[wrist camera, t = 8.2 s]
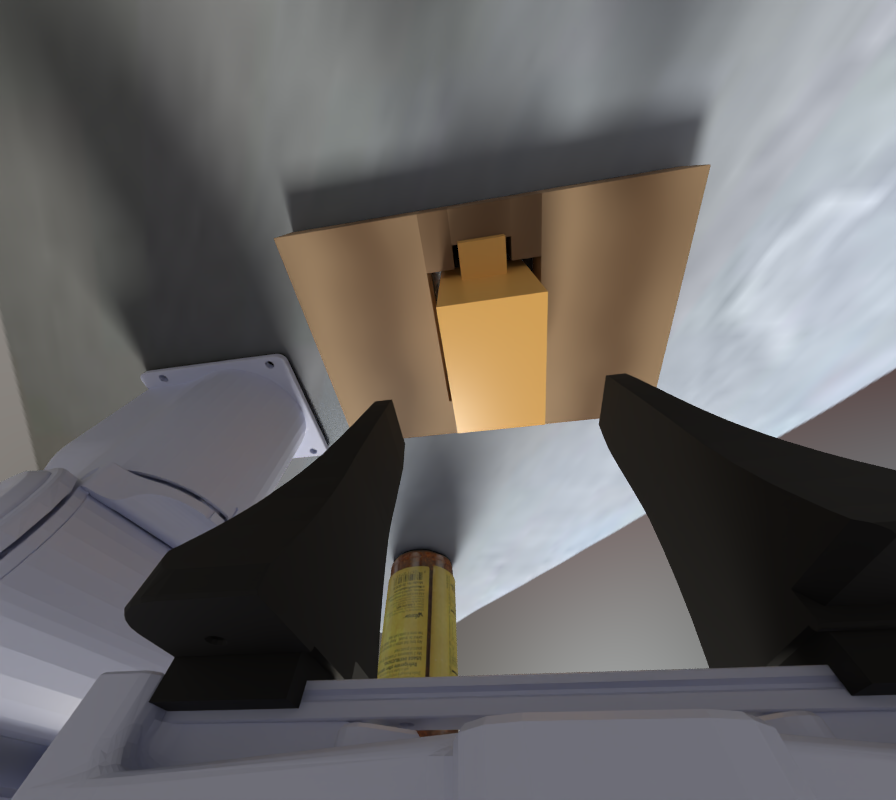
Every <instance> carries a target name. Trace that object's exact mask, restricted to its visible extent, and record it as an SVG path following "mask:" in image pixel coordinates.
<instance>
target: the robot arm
mask: <svg viewBox="0 0 896 800" xmlns="http://www.w3.org/2000/svg"><path fill="white" fill-rule="evenodd" d="M268 361H271V362H272V363H273V364H274V366H273V365H271V364H270V363H269V362H268ZM165 376H166V377H167V378H166V377H165ZM141 380H142V381H143V383H144V384H145V385H146V387H147V388H148V390H147V391H145V392H144V393H142V394H141V395H139V396H138V397H136V398H135V399H133V400H132V401H131V402H129V403H128V404H126V405H125V406H123V407H122V408H120V409H119V410H117V411H116V412H114V413H113V414H111V415H110V416H108V417H107V418H105V419H104V420H103V421H101V422H100V423H98V424H97V425H95V426H94V427H92V428H91V429H89V430H88V431H86V432H85V433H83V434H82V435H80V436H79V437H77V438H76V439H75V440H73V441H72V442H70V443H69V444H67V445H66V446H64V447H63V448H62V449H61V450H60V451H58V452H57V453H56V454H55V455H54V456H53V458H52V459H51V460H50V461H49V463H48V464H47V466H46V467H45V469H44V470H37V471H25V472H22V473H19V474H16V475H14V476H12V477H10V478H8V479H6V480H4V481H2V482H0V800H896V470H892V469H888V468H884V467H880V466H876V465H871V464H867V463H863V462H859V461H854V460H851V459H847V458H843V457H839V456H836V455H832V454H828V453H824V452H821V451H817V450H814V449H811V448H807V447H804V446H800V445H797V444H794V443H791V442H787V441H784V440H781V439H778V438H775V437H772V436H769V435H766V434H763V433H760V432H758V431H755V430H752V429H749V428H746V427H744V426H741V425H738V424H736V423H733V422H731V421H728V420H726V419H723V418H721V417H718V416H716V415H714V414H711V413H709V412H707V411H704V410H702V409H700V408H698V407H696V406H693V405H691V404H689V403H687V402H685V401H683V400H681V399H678V398H676V397H674V396H672V395H670V394H668V393H666V392H664V391H662V390H660V389H658V388H656V387H654V386H652V385H650V384H648V383H646V382H644V381H642V380H640V379H638V378H636V377H633V376H631V375H629V374H626V373H623V374H614V375H606V378H605V385H604V392H603V399H602V406H601V413H600V420H599V426H600V429H601V431H602V434H603V436H604V439H605V441H606V444H607V446H608V448H609V450H610V452H611V454H612V456H613V457H614V459H615V461H616V463H617V464H618V466H619V468H620V469H621V471H622V473H623V474H624V476H625V478H626V479H627V481H628V483H629V484H630V486H631V488H632V489H633V491H634V493H635V494H636V496H637V498H638V499H639V501H640V503H641V505H642V506H643V508H644V510H645V512H646V514H647V516H648V517H649V519H650V521H651V524H652V526H653V528H654V530H655V532H656V534H657V537H658V539H659V541H660V543H661V545H662V548H663V550H664V552H665V555H666V557H667V559H668V562H669V564H670V566H671V569H672V571H673V573H674V576H675V578H676V580H677V583H678V585H679V588H680V590H681V593H682V595H683V598H684V601H685V603H686V606H687V608H688V611H689V613H690V616H691V618H692V621H693V624H694V626H695V629H696V632H697V635H698V637H699V640H700V643H701V646H702V648H703V651H704V654H705V657H706V659H707V662H708V665H709V668H706V669H675V670H674V669H673V670H641V671H608V672H577V673H543V674H511V675H478V676H446V677H413V678H381V679H377V675H378V655H379V635H380V622H381V608H382V595H383V584H384V574H385V563H386V555H387V546H388V537H389V532H390V526H391V521H392V517H393V512H394V508H395V503H396V499H397V494H398V490H399V485H400V480H401V476H402V471H403V462H404V449H405V442H404V439H403V435H402V432H401V429H400V425H399V422H398V418H397V415H396V411H395V408H394V404H393V401H392V400H383V401H375V402H374V403H373V404H372V405H371V406H370V407H369V408H368V409H367V410H366V411H365V412H364V413H363V414H362V415H361V416H360V417H359V419H358V420H357V421H356V422H355V423H354V424H353V425H352V426H351V427H350V428H349V429H348V430H347V431H346V432H345V433H344V434H343V435H342V436H341V437H340V438H339V439H338V440H337V441H336V442H335V443H334V444H333V445H332V446H331V447H329V448H328V445H327V443H326V441H325V438H324V436H323V434H322V432H321V430H320V428H319V426H318V423H317V421H316V419H315V417H314V415H313V413H312V411H311V409H310V406H309V404H308V402H307V400H306V398H305V396H304V394H303V391H302V389H301V387H300V385H299V383H298V381H297V379H296V376H295V374H294V372H293V370H292V368H291V366H290V364H289V361H288V360H287V358H286V357H285V356H284V355H281V354H271V355H263V356H256V357H248V358H241V359H233V360H225V361H218V362H210V363H203V364H195V365H188V366H180V367H173V368H165V369H158V370H150V371H146V372H144V373H143V374H142V375H141ZM312 448H313V449H312ZM314 449H316V450H314ZM319 455H321V456H320V457H319V458H318V459H316V460H315V461H314V462H313V463H312V464H310V465H309V466H308V467H307V468H305V469H304V470H303V471H302V472H300V473H299V474H298V475H297V476H295V477H294V478H293V479H291V480H290V481H288V482H287V483H286V484H284V485H283V486H281V487H280V488H278V489H277V490H275V491H274V489H275V487H276V486H277V484H278V482H279V480H280V479H281V477H282V475H283V474H284V472H285V470H286V468H287V467H288V465H289V463H290V462H291V460H292V458H299V457H309V456H319ZM273 491H274V492H273ZM415 730H460V731H459V732H458V733H453V734H444V735H435V736H427V737H420V736H419V734H418V733H417V731H415Z"/></svg>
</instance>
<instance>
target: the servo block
mask: <svg viewBox="0 0 896 800" xmlns="http://www.w3.org/2000/svg"><path fill="white" fill-rule="evenodd" d="M457 244H458V252H459V261H460V267H456V268H455V269H453V270H446V271H442V272H441V278H440V285H439V291H438V298H437V305H436V310H437V316H438V322H439V327H440V333H441V339H442V345H443V351H444V356H445V362H446V368H447V374H448V380H449V385H450V391H451V397H452V403H453V409H454V414H455V420H456V426H457V432H458V433H466V432H476V431H485V430H495V429H505V428H515V427H524V426H534V425H544V424H545V411H546V363H547V315H548V291H547V290H546V288H545V287H544V286H543V285H542V284H541V282H540V281H539V280H538V279H537V278H536V276H535V275H534V274H533V273H532V271H531V270H530V269H529V268H528V267H527V265H526V264H525V263H524V262H523V261H522V259H519V260H513V261H512V260H511V259H508V260H506V238H505V235H504V234H500V235H493V236H487V237H481V238H475V239H469V240H462V241H457Z"/></svg>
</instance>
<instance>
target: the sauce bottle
mask: <svg viewBox="0 0 896 800" xmlns="http://www.w3.org/2000/svg"><path fill="white" fill-rule="evenodd" d="M456 641H457V640H456V603H455V580H454V577H453V571H452V566H451V562H450V561H449V559H448V558H447V557H445V556H442V555H440V554H437V553H435V552H433V551H429V550H416V551H409V552H407V553H404V554H402V555H400V556H399V557H398V558H397V559H395V562H394V563H393V565H392V569H391V577H390V579H389V584H388V592H387V600H386V608H385V616H384V624H383V632H382V640H381V648H380V656H379V663H378V675H377V679H381V678H413V677H446V676H458V668H457V642H456ZM415 731H417V733H418V734H419V736H420V737H427V736H435V735H444V734H453V733H458V730H415Z"/></svg>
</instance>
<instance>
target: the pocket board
mask: <svg viewBox="0 0 896 800" xmlns="http://www.w3.org/2000/svg"><path fill="white" fill-rule="evenodd" d="M709 170H710V165H695V166H680V167H674V168H669V169H663V170H657V171H651V172H645V173H639V174H633V175H627V176H622V177H616V178H610V179H604V180H598V181H592V182H586V183H580V184H574V185H569V186H563V187H557V188H551V189H545V190H539V191H533V192H527V193H522V194H516V195H510V196H504V197H498V198H492V199H486V200H480V201H475V202H469V203H463V204H457V205H451V206H445V207H439V208H433V209H427V210H422V211H416V212H410V213H404V214H398V215H392V216H386V217H380V218H375V219H369V220H363V221H357V222H351V223H345V224H339V225H333V226H328V227H322V228H316V229H310V230H304V231H298V232H292V233H289V234H286V235H283V236H280V237H277V238H274V241H275V243H276V245H277V248H278V250H279V253H280V255H281V258H282V260H283V263H284V265H285V268H286V270H287V273H288V275H289V278H290V280H291V283H292V285H293V288H294V290H295V293H296V295H297V298H298V300H299V303H300V305H301V308H302V310H303V313H304V315H305V318H306V320H307V323H308V325H309V328H310V330H311V333H312V335H313V338H314V340H315V343H316V345H317V348H318V350H319V352H320V355H321V357H322V360H323V362H324V365H325V367H326V370H327V372H328V375H329V377H330V380H331V382H332V385H333V387H334V390H335V392H336V395H337V397H338V400H339V402H340V405H341V407H342V410H343V412H344V415H345V417H346V420H347V422H348V425H349V427H351V426H352V425H353V424H354V423H355V422H356V421H357V420H358V419H359V417H360V416H361V415H362V414H363V413H364V412H365V411H366V410H367V409H368V408H369V407H370V406H371V405H372V404H373V403H374V402H375V401H383V400H392V401H393V404H394V408H395V411H396V415H397V418H398V422H399V425H400V429H401V432H402V435H403V438H411V437H421V436H431V435H440V434H450V433H458V432H457V426H456V420H455V414H454V409H453V403H452V397H451V391H450V385H449V380H448V374H447V368H446V362H445V356H444V351H443V345H442V339H441V333H440V327H439V322H438V316H437V310H436V300H435V294H434V288H433V282H432V276H431V273H433V272H440V271H446V270H453V269H455V259H454V251H453V245H458V244H457V241H462V240H469V239H475V238H481V237H487V236H493V235H500V234H504V235H505V237H506V253H507V254H508V256H509V257H510V258H511V260H512V261H513V260H519V259H526V258H532V257H533V274H534V275H535V276H536V278H537V279H538V280H539V281H540V282H541V284H542V285H543V286H544V287H545V288H546V290H547V291H548V315H547V363H546V411H545V424H549V423H558V422H568V421H578V420H588V419H598V418H600V413H601V406H602V399H603V392H604V385H605V378H606V375H614V374H623V373H626V374H629V375H631V376H633V377H636V378H638V379H640V380H642V381H644V382H646V383H648V384H650V385H652V386H654V387H657V383H658V379H659V374H660V370H661V366H662V362H663V358H664V354H665V350H666V346H667V342H668V338H669V333H670V329H671V325H672V321H673V317H674V313H675V309H676V305H677V301H678V297H679V293H680V288H681V284H682V280H683V276H684V272H685V268H686V264H687V260H688V256H689V252H690V247H691V243H692V239H693V235H694V231H695V227H696V223H697V219H698V215H699V211H700V206H701V202H702V198H703V194H704V190H705V186H706V182H707V178H708V174H709Z"/></svg>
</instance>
